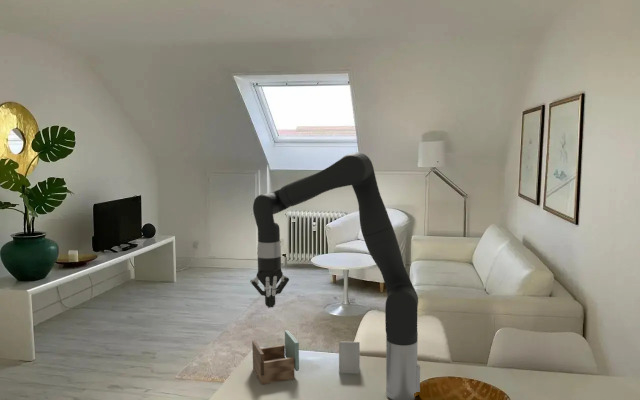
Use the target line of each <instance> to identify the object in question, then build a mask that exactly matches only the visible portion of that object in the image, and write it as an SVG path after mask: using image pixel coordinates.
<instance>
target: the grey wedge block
mask: <svg viewBox="0 0 640 400" xmlns="http://www.w3.org/2000/svg"><path fill="white" fill-rule="evenodd" d="M338 344H339V345H338V373H339V374H360V372H361V371H360V369H361V367H360V364H361V362H360V358H361V356H360V353H361V352H360V351H361V349H360V346H361V345H360V342H359V341H341V340H340V341H338Z"/></svg>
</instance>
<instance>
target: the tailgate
mask: <svg viewBox="0 0 640 400" xmlns="http://www.w3.org/2000/svg"><path fill="white" fill-rule="evenodd" d="M299 344H300V342H299V341H298V340H297V338H296V337H295V336H294V335H293V334H292V333H291V332H290V331H289V330H288V329H287V330H284V345H285V358H289V357H294V371H296V372H299V370H300V345H299Z"/></svg>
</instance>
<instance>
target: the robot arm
mask: <svg viewBox="0 0 640 400" xmlns="http://www.w3.org/2000/svg"><path fill="white" fill-rule="evenodd" d="M372 162H373V161H372V160H371V159H370V157H369V156H367V154H365V153H362V152H352V153H348V154H346V155H344V156H343V157H341V158H340V159H338V160H337V161H336V162H334V163H332V164H331V165H329V166H328V167H326V168H325V169H322V170H320V171H318V172H316V173H313V174H311V175H308V176H304V177H302V178H299V179H296V180H294V181H292V182H290V183H287V184H285V185H283V186H282V187H281V188H280V189H277V190H274V191H271V192H268V193H262V194H261V193H260V194H259V195H257V196H256V197H255V198H254V201H253V205H252V211H253V215H254V220H255V224H256V226H257V248H256V249H257V252H256V255H257V273H256V277H254V278H253V279H250V281H249V282H250V284H251V285H252V286H253V287H254V288H255V290H256V291H257V292H258V293H259V294H260V295H261V296H264V305H265V307H267V308H268V309H269V308H274V306H276V296H277V295H280V294H281V293H282V292H283V290H284V288H285V287H286V286H287V285H288V282H289V281H290V278H289V277H288V276H286V275H285V274H283V271H282V251H281V250H282V249H281V239H280V238H281V233H280V231H281V229H280V225H279V223H277V222H275V219H274V215H275V214H279V213H281V212H283V211H285V210H287V209H289V208H290V207H294V206H297V205H300V204H302V203H305V202H307V201H308V200H311V199H314V198H315V197H317V196H319V195H321V194H323V193H326V192H328V191H331V190H335V189H338V188H339V189H340V188H343V187H348V186H351V187H352V189H353V192H354V194H355V196H356V200H357V204H358V214H359V215H358V216H359V225H360V230H361V235H362V237H363V240H364V242H365V245H366V248H367V251H368V252H369V254H370V257H371V258H372V259H373V261H374V263H375V265H376V266H377V268H378V270H379V271H380V273H381V276H382V279H383V282H384V286H385V290H386V295H387V297H386V300H385V304H384V305H385V312H384V315H385V319H384V320H385V324H384V325H385V336H386V340H385V341H386V342H385V344H386V345H385V351H386V355H385V356H386V357H385V359H386V360H385V363H386V364H385V366H386V367H385V373H386V374H385V382H386V383H385V394H386V396H387V398H389V399H390V400H415V399H414V393H416V392H420V393H421V365H419V364H418V341H419V340H418V336H419V335H418V310H419V309H418V307H419V297H418V294H417V291H416V289H415V287H414V285H413V283H412V280H411V279H410V276H409V274H408V273H407V270H406V267H405V264H404V260H403V257H402V252H401V249H400V245H399V243H398V238H397V236H396V233H395V229H394V227H393V225H392V222H391V220H390V216H389V215H388V213H389V212H388V211H387V209H386V206H385V203H384V201H383V198H382V196H381V192H380V189H379V186H378V182H377V177H376V173H375V169H374V165H373V163H372ZM260 283H261V284H262V285H263V289H264V290H263V289H262V288H261V287H260V285H259V284H260Z"/></svg>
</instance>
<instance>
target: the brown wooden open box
mask: <svg viewBox="0 0 640 400" xmlns="http://www.w3.org/2000/svg"><path fill="white" fill-rule="evenodd" d="M251 343H252V344H251V345H252V370H253V372H254V374H255V375H256V377H257V379H258V381H259V383H260V384H261V385H267V384H273V383H278V382H283V381H289V380H295V379H296V378H295V376H296V375H295V369H294V357H289V358H286V356H285V344H279V345H272V346H265V347H260V345H259V344H258V342H257V341H256V340H255V339H254V340H251Z"/></svg>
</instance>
